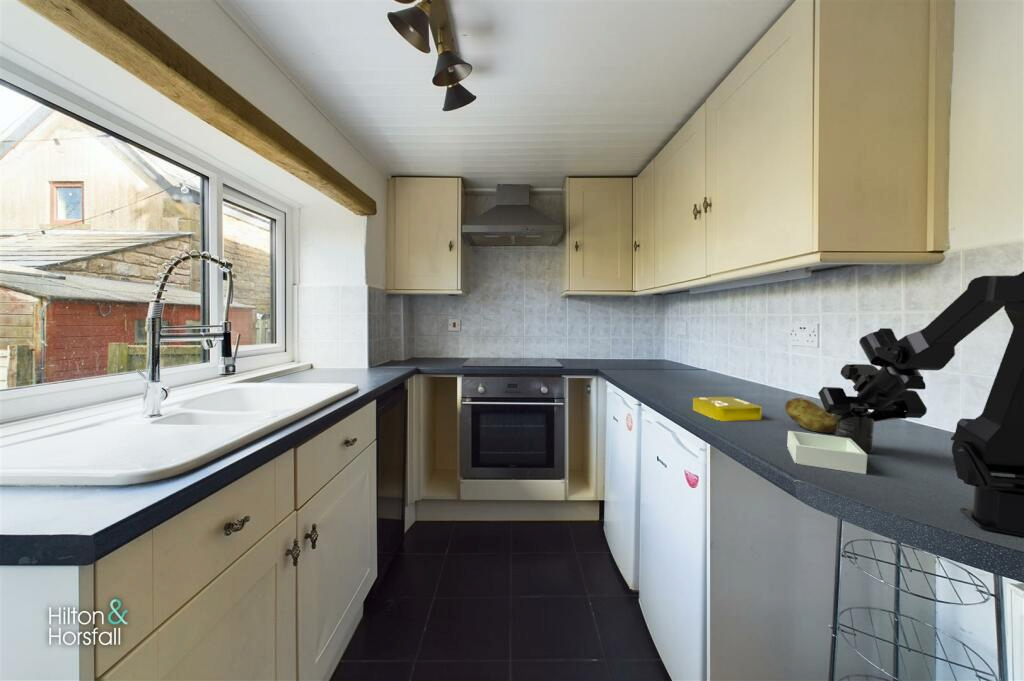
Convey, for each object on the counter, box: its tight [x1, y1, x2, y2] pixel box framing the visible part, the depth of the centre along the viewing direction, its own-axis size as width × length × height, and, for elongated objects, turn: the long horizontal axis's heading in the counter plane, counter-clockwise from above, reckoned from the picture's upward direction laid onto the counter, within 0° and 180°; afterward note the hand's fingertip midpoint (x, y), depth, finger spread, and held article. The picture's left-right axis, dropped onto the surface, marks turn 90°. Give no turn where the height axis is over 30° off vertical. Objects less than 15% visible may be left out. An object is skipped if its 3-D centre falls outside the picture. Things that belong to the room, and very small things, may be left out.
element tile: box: [692, 396, 763, 422], centre depth 126 cm, size 15×15×5 cm
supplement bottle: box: [835, 407, 875, 454], centre depth 94 cm, size 7×7×12 cm
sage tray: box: [786, 430, 868, 475], centre depth 88 cm, size 12×12×4 cm
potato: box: [784, 397, 837, 434], centre depth 111 cm, size 8×13×8 cm, turn 8°
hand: (851, 420), depth 96 cm, fingers closed on supplement bottle, 7 cm apart
